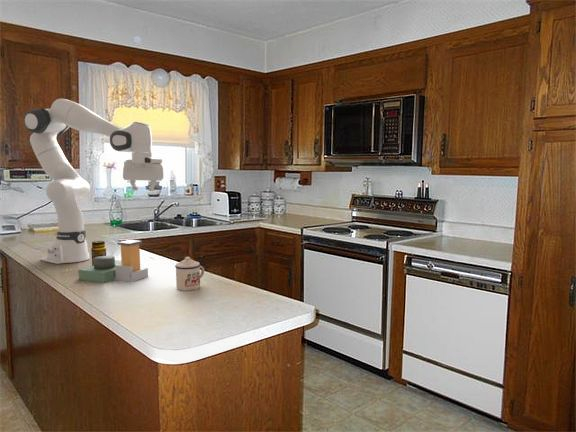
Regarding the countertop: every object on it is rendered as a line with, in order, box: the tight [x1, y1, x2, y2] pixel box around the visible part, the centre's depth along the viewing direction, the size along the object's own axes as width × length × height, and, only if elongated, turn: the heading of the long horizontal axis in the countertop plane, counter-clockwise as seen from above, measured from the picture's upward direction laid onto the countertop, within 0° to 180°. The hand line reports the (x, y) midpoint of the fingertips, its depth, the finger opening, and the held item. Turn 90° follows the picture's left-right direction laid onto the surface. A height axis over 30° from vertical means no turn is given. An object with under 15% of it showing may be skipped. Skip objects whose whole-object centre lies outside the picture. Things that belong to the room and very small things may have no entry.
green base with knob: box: [77, 255, 149, 284], centre depth 183 cm, size 22×19×8 cm
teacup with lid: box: [174, 256, 205, 292], centre depth 168 cm, size 12×9×12 cm
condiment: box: [90, 240, 107, 266], centre depth 197 cm, size 7×8×12 cm
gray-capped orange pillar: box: [117, 239, 143, 272], centre depth 180 cm, size 6×6×14 cm
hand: (143, 190), depth 199 cm, fingers open, 8 cm apart
